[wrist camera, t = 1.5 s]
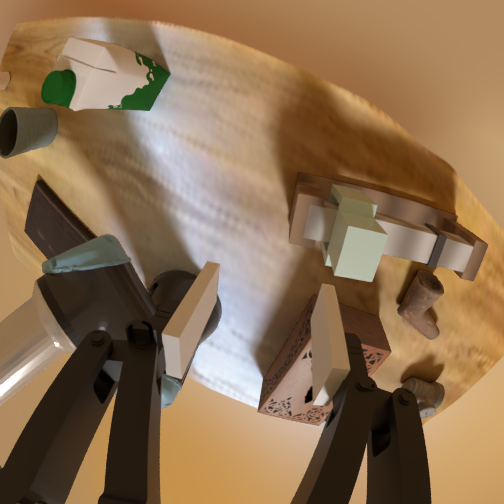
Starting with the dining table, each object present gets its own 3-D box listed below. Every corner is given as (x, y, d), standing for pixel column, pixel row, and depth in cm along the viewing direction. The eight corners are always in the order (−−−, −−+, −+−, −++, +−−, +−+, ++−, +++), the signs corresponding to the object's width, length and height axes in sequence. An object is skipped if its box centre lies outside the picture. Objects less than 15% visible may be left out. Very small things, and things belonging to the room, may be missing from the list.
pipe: (428, 352, 43) (467, 326, 38) (388, 313, 41) (434, 279, 35) (423, 330, 49) (458, 305, 43) (383, 290, 46) (424, 257, 41)
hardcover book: (83, 286, 56) (78, 291, 54) (29, 227, 52) (24, 230, 50) (103, 242, 50) (97, 247, 47) (43, 178, 46) (36, 180, 44)
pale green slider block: (319, 239, 37) (329, 288, 25) (332, 183, 34) (352, 209, 22) (346, 244, 37) (366, 295, 25) (360, 190, 33) (392, 219, 22)
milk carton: (116, 99, 37) (28, 96, 19) (140, 54, 33) (58, 28, 15) (151, 118, 38) (63, 118, 20) (178, 70, 34) (100, 38, 16)
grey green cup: (30, 136, 41) (-8, 144, 30) (45, 97, 37) (4, 99, 26) (50, 157, 43) (9, 168, 32) (67, 115, 39) (22, 119, 28)
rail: (288, 222, 42) (286, 251, 32) (298, 172, 38) (300, 185, 28) (441, 256, 40) (471, 288, 30) (455, 214, 36) (491, 239, 26)
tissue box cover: (313, 293, 47) (316, 329, 38) (378, 316, 47) (391, 352, 38) (263, 377, 58) (257, 412, 49) (318, 392, 58) (318, 425, 49)
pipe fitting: (443, 378, 51) (449, 408, 42) (422, 394, 55) (425, 423, 46) (416, 365, 52) (422, 398, 43) (394, 383, 56) (397, 415, 47)
